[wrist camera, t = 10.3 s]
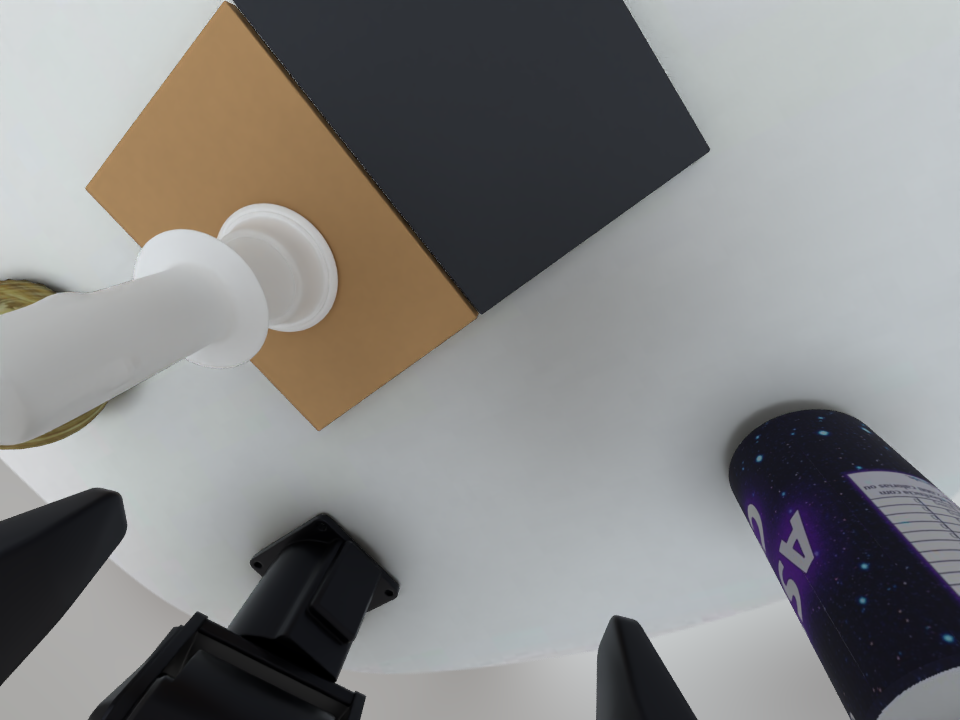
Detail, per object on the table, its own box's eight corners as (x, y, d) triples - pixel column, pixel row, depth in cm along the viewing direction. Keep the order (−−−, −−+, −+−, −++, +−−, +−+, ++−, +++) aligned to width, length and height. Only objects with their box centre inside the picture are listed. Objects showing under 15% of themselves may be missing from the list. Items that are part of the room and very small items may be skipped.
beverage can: (714, 412, 20) (899, 716, 9) (868, 385, 19) (1295, 707, 8) (729, 516, 22) (896, 868, 11) (869, 499, 21) (1214, 883, 10)
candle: (315, 351, 21) (60, 562, 10) (205, 292, 21) (-182, 447, 10) (358, 245, 19) (88, 370, 8) (235, 177, 19) (-220, 212, 8)
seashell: (91, 357, 29) (52, 488, 25) (-81, 315, 24) (-162, 470, 20) (158, 280, 24) (123, 427, 20) (-39, 206, 19) (-136, 384, 15)
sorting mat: (323, 425, 23) (318, 432, 23) (96, 187, 20) (83, 188, 20) (706, 150, 16) (711, 150, 16) (451, -283, 13) (446, -302, 13)
